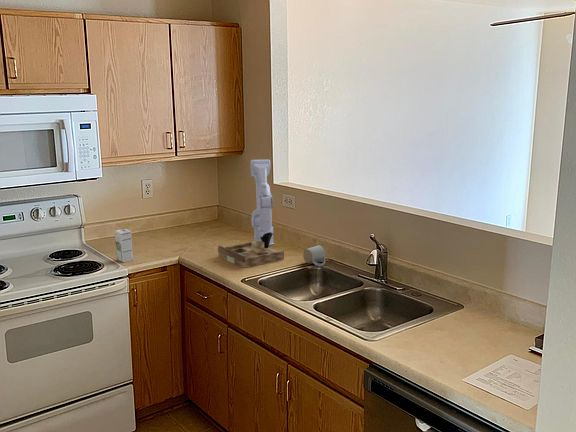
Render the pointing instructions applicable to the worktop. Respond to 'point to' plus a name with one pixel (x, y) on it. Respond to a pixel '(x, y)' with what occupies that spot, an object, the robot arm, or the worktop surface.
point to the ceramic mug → (314, 255)
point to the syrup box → (123, 245)
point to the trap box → (248, 255)
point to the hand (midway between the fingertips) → (266, 247)
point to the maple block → (258, 246)
